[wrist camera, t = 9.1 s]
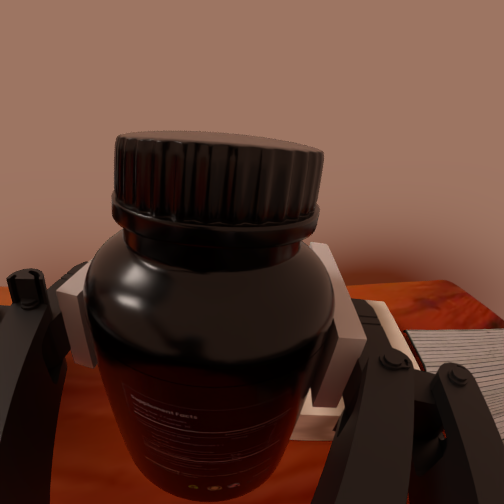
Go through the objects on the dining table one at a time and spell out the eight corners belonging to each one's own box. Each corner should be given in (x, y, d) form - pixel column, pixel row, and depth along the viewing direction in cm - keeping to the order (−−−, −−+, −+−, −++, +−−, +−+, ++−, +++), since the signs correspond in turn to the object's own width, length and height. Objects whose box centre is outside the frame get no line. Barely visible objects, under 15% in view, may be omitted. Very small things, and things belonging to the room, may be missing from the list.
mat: (498, 338, 39) (509, 316, 37) (561, 429, 18) (580, 404, 16) (398, 338, 39) (409, 311, 38) (457, 474, 18) (484, 448, 16)
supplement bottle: (132, 385, 14) (114, 128, 9) (262, 383, 15) (306, 142, 11) (125, 506, 8) (7, 144, 3) (299, 496, 9) (443, 180, 4)
